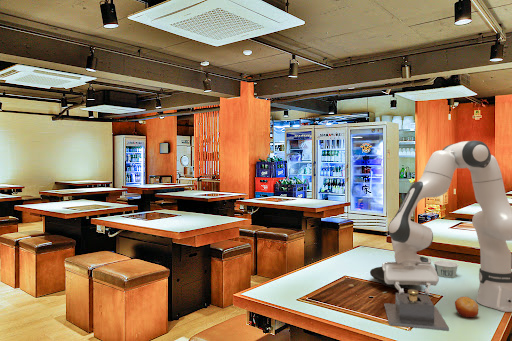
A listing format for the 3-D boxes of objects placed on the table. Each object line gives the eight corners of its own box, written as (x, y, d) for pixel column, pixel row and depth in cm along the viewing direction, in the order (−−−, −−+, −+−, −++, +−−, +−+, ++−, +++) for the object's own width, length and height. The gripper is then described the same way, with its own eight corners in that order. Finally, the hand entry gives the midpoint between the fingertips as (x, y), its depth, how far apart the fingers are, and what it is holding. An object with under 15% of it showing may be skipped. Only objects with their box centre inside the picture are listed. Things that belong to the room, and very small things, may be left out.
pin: (417, 312, 147) (417, 289, 147) (419, 316, 143) (419, 293, 143) (407, 311, 148) (407, 289, 148) (408, 315, 144) (408, 292, 144)
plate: (429, 296, 168) (429, 284, 168) (373, 293, 173) (373, 281, 172) (415, 278, 195) (415, 267, 195) (367, 275, 200) (367, 265, 200)
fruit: (467, 306, 153) (473, 293, 148) (477, 323, 146) (484, 309, 142) (447, 306, 152) (453, 293, 148) (457, 323, 146) (463, 310, 141)
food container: (452, 272, 206) (452, 260, 206) (462, 279, 194) (462, 266, 194) (429, 272, 207) (429, 260, 207) (438, 278, 195) (438, 266, 195)
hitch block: (436, 309, 153) (436, 292, 153) (449, 330, 133) (449, 311, 133) (384, 305, 158) (384, 288, 157) (389, 325, 138) (389, 306, 138)
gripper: (382, 257, 154) (388, 289, 144) (434, 258, 152) (444, 291, 142) (380, 265, 158) (385, 297, 149) (430, 267, 156) (439, 298, 146)
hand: (414, 294), depth 145 cm, fingers open, 8 cm apart
